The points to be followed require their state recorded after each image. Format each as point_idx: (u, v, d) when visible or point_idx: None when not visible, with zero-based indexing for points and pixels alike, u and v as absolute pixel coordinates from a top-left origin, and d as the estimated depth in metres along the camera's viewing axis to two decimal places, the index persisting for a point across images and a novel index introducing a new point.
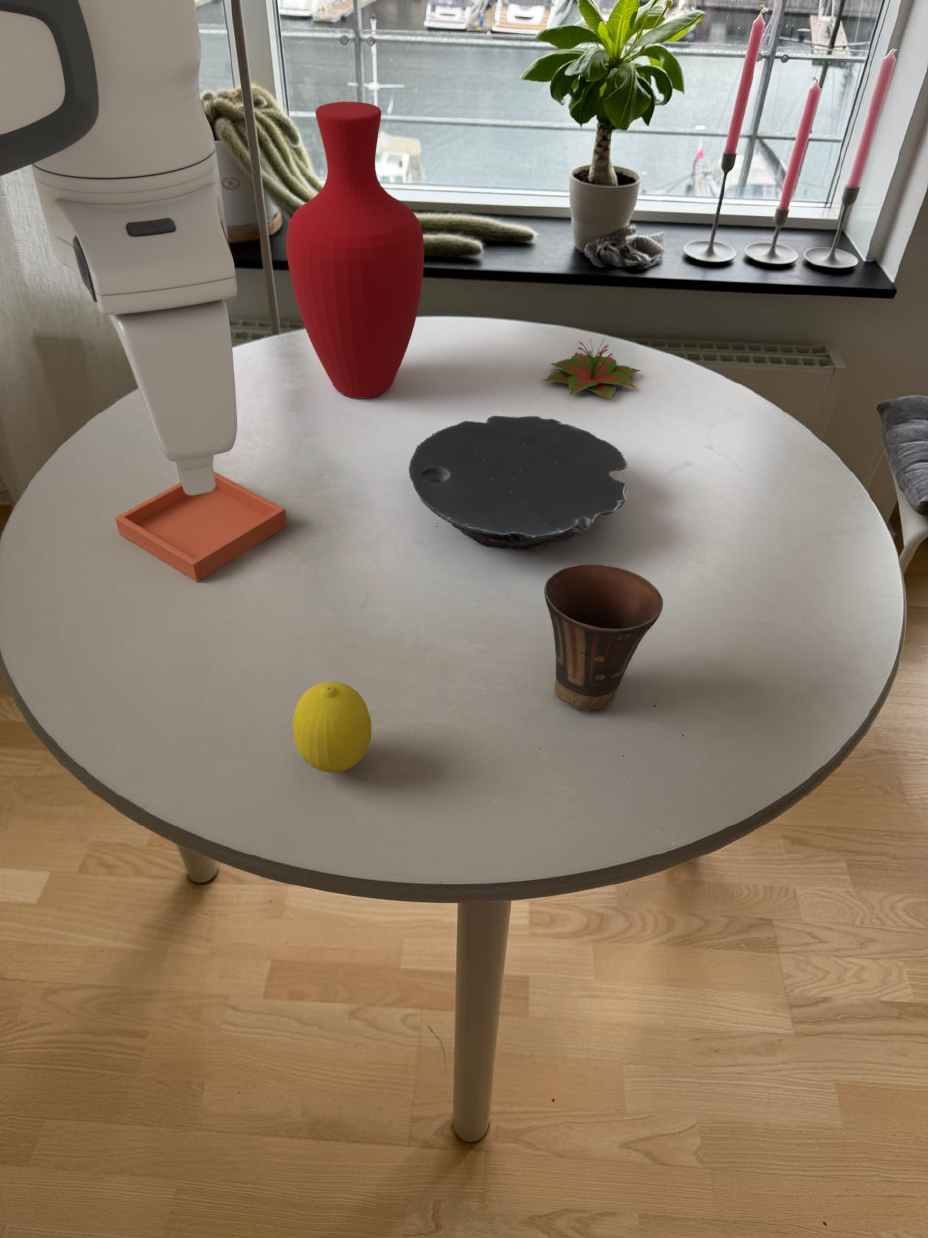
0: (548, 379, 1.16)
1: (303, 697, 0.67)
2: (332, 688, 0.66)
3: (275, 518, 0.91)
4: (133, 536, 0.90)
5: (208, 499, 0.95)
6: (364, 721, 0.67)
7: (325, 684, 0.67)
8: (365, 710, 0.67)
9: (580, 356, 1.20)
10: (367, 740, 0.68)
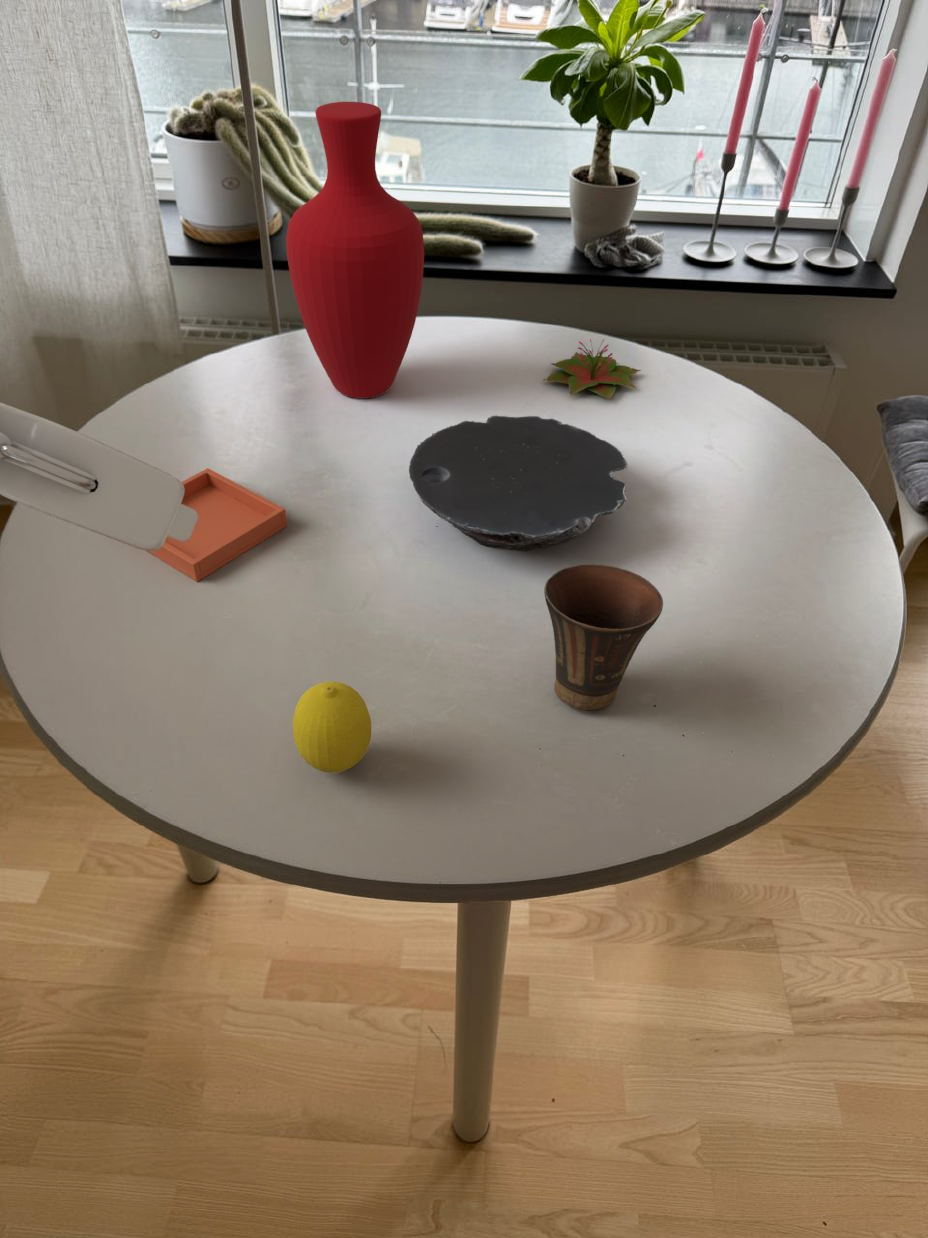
0: (548, 379, 1.16)
1: (303, 697, 0.67)
2: (332, 688, 0.66)
3: (275, 518, 0.91)
4: None
5: (208, 499, 0.95)
6: (364, 721, 0.67)
7: (325, 684, 0.67)
8: (365, 710, 0.67)
9: (580, 356, 1.20)
10: (367, 740, 0.68)
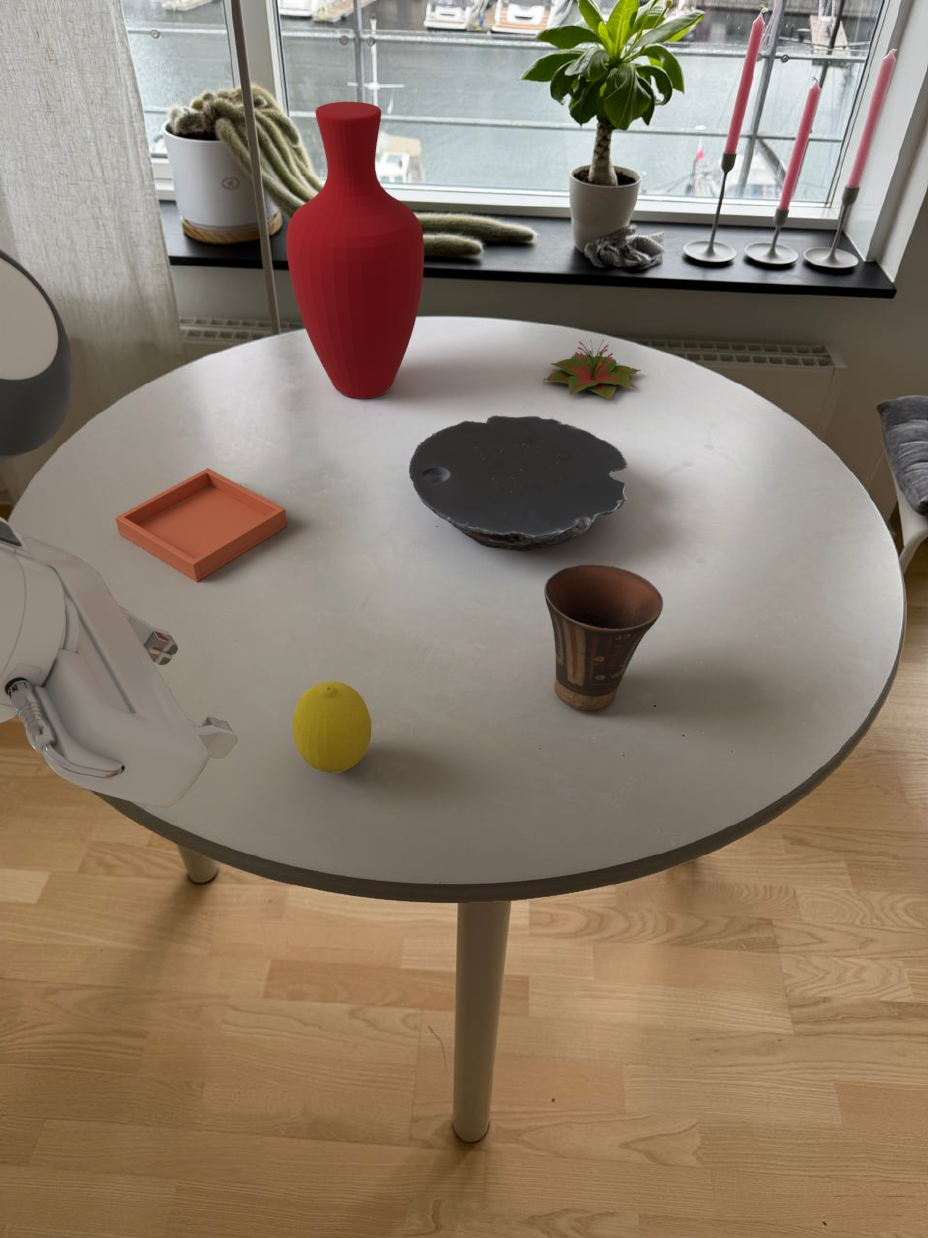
0: (548, 379, 1.16)
1: (303, 697, 0.67)
2: (332, 688, 0.66)
3: (275, 518, 0.91)
4: (133, 536, 0.90)
5: (208, 499, 0.95)
6: (363, 721, 0.67)
7: (325, 684, 0.67)
8: (365, 710, 0.67)
9: (580, 356, 1.20)
10: (367, 740, 0.68)
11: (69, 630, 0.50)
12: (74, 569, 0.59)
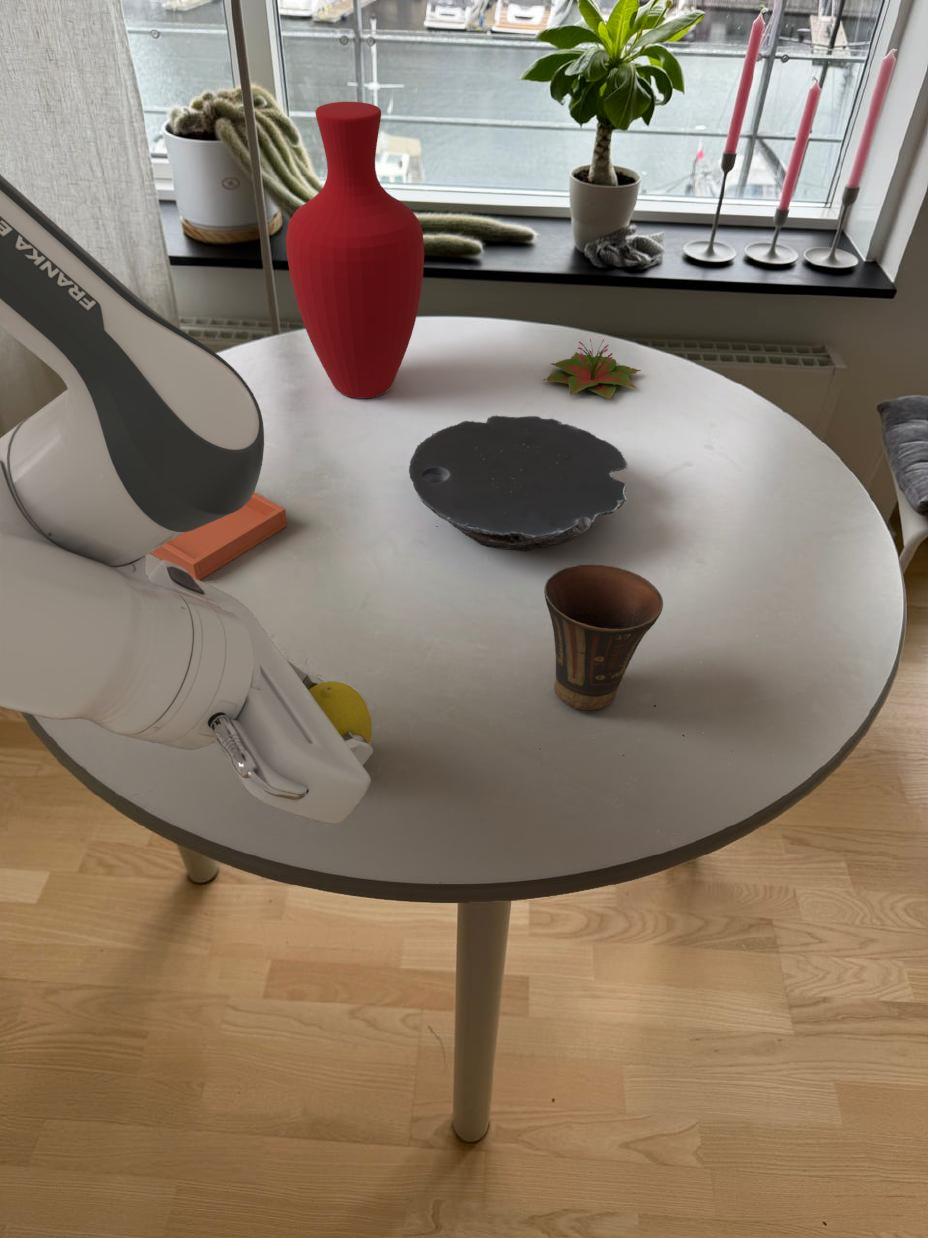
0: (548, 379, 1.16)
1: None
2: (332, 688, 0.66)
3: (275, 518, 0.91)
4: None
5: None
6: (364, 721, 0.67)
7: (325, 684, 0.67)
8: (365, 710, 0.67)
9: (580, 356, 1.20)
10: (367, 740, 0.68)
11: (253, 670, 0.58)
12: (235, 610, 0.68)
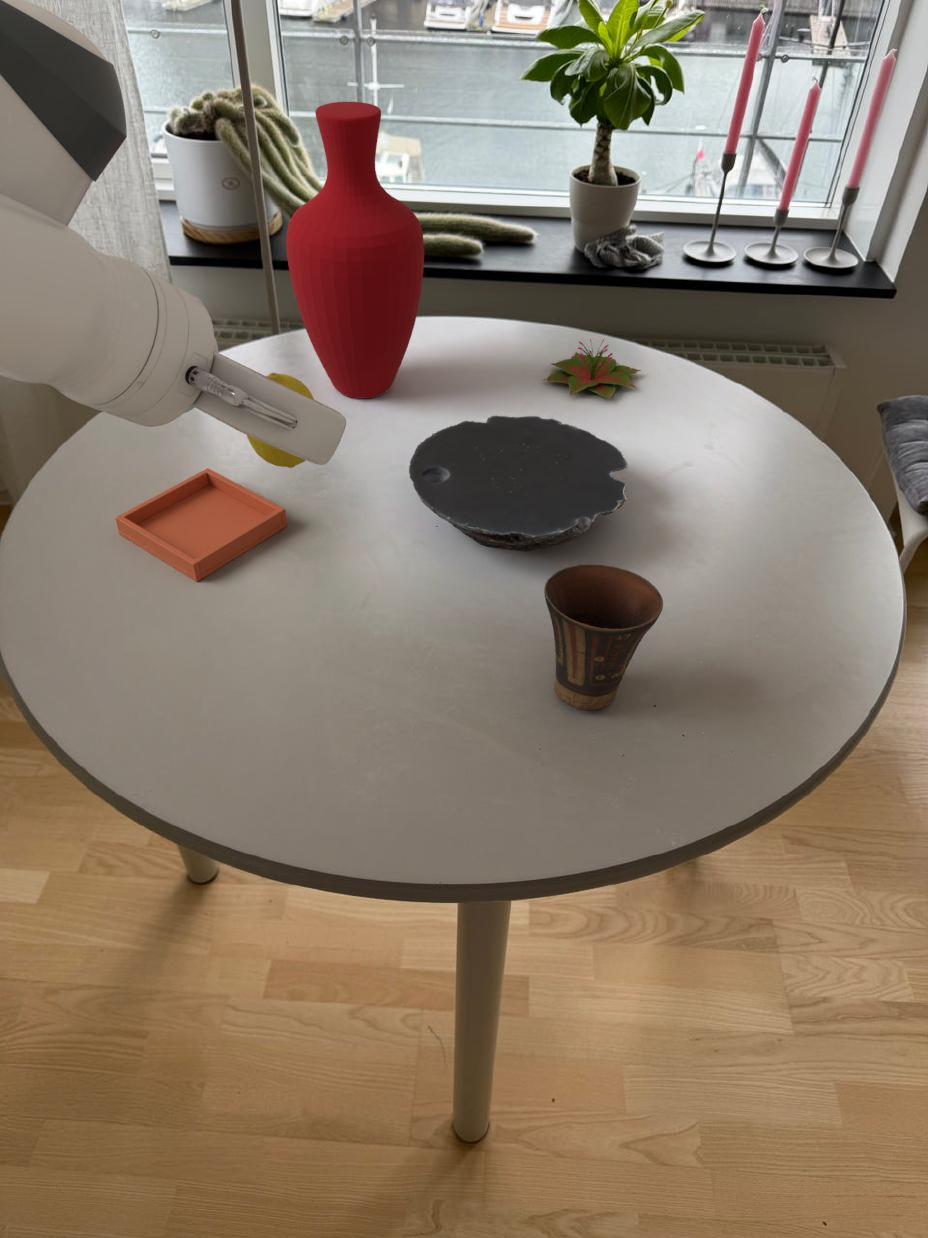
0: (548, 379, 1.16)
1: None
2: (277, 374, 0.68)
3: (275, 518, 0.91)
4: (133, 536, 0.90)
5: (208, 499, 0.95)
6: None
7: None
8: (311, 394, 0.70)
9: (580, 356, 1.20)
10: None
11: None
12: None
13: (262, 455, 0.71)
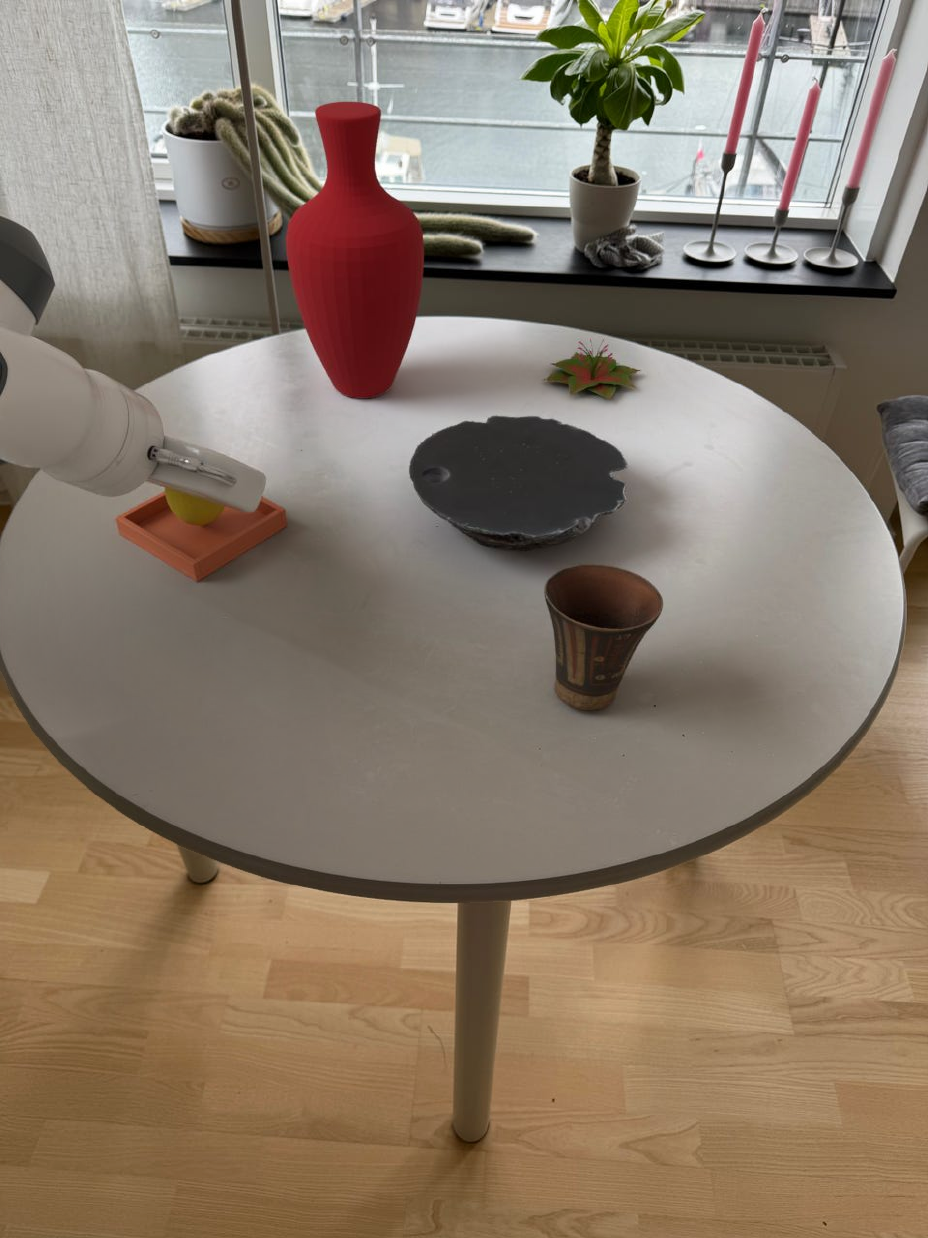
0: (548, 379, 1.16)
1: None
2: None
3: (275, 518, 0.91)
4: (133, 536, 0.90)
5: None
6: None
7: None
8: None
9: (580, 356, 1.20)
10: None
11: None
12: None
13: (183, 517, 0.89)
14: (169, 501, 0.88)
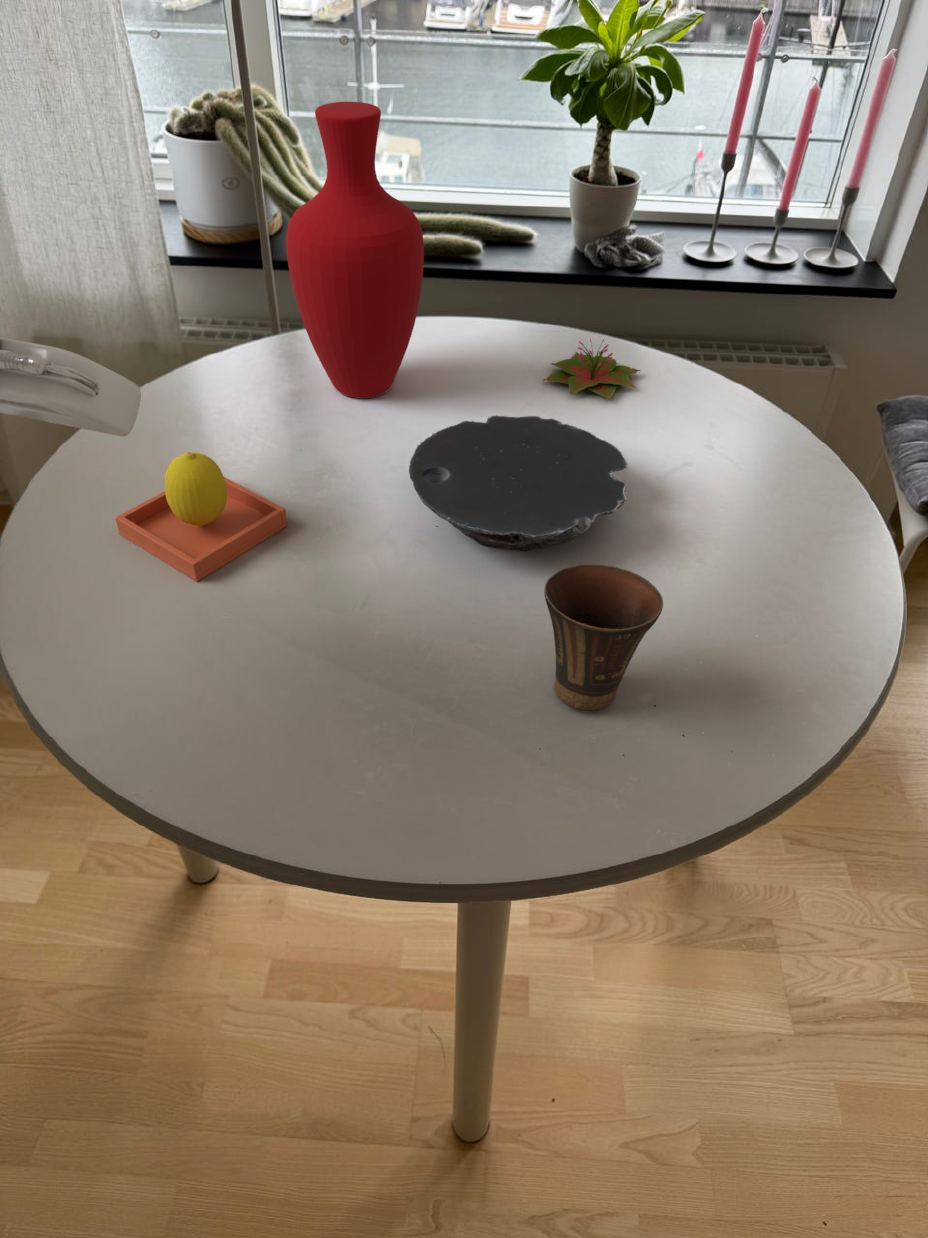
0: (548, 379, 1.16)
1: (170, 468, 0.87)
2: (191, 452, 0.87)
3: (275, 518, 0.91)
4: (133, 536, 0.90)
5: None
6: (221, 472, 0.89)
7: (182, 454, 0.88)
8: (218, 466, 0.89)
9: (580, 356, 1.20)
10: (226, 488, 0.90)
11: None
12: None
13: (183, 517, 0.89)
14: (169, 501, 0.88)
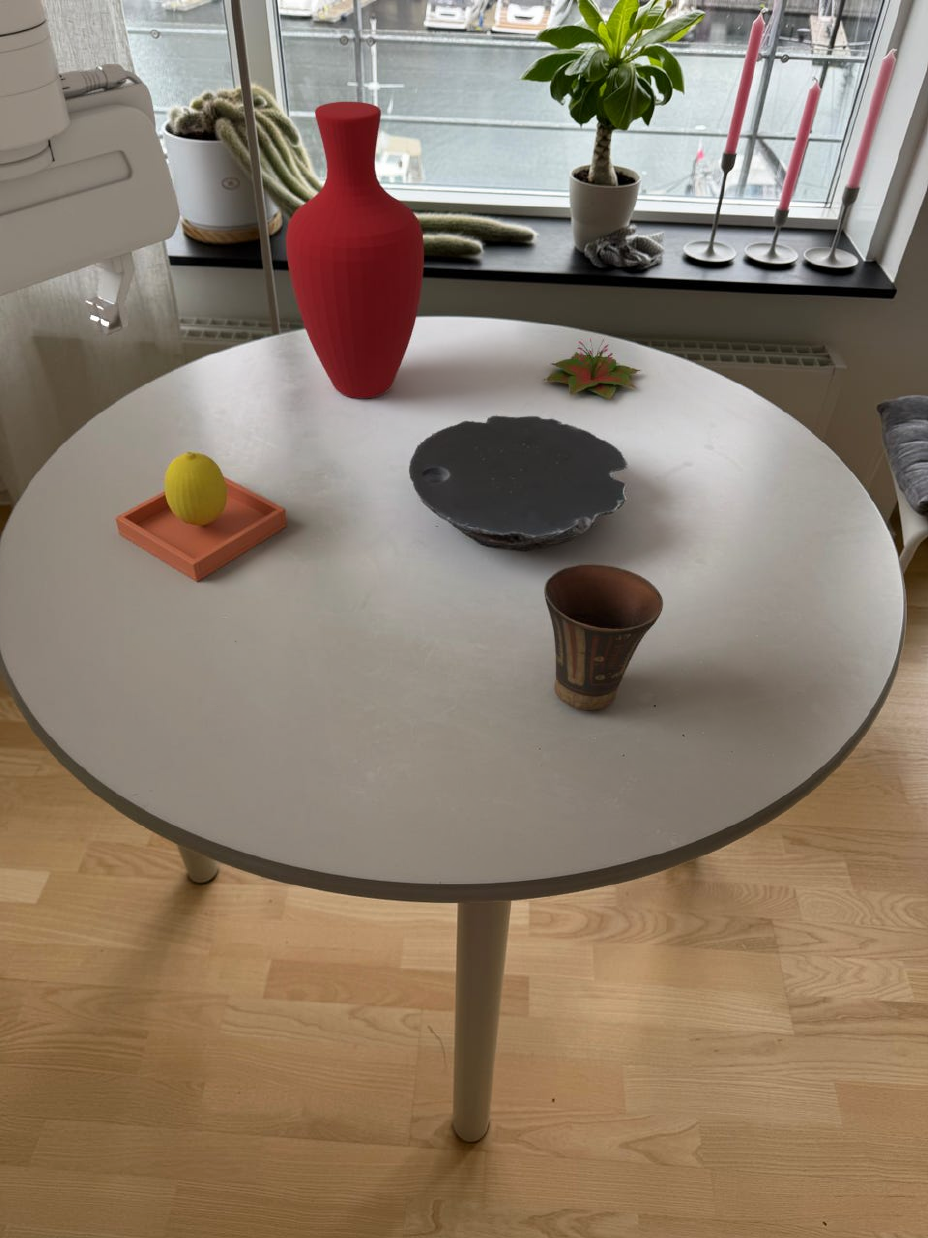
0: (548, 379, 1.16)
1: (170, 468, 0.87)
2: (191, 452, 0.87)
3: (275, 518, 0.91)
4: (133, 536, 0.90)
5: None
6: (221, 472, 0.89)
7: (182, 454, 0.88)
8: (218, 466, 0.89)
9: (580, 356, 1.20)
10: (226, 488, 0.90)
11: None
12: None
13: (183, 517, 0.89)
14: (169, 501, 0.88)
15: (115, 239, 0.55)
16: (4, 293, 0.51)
